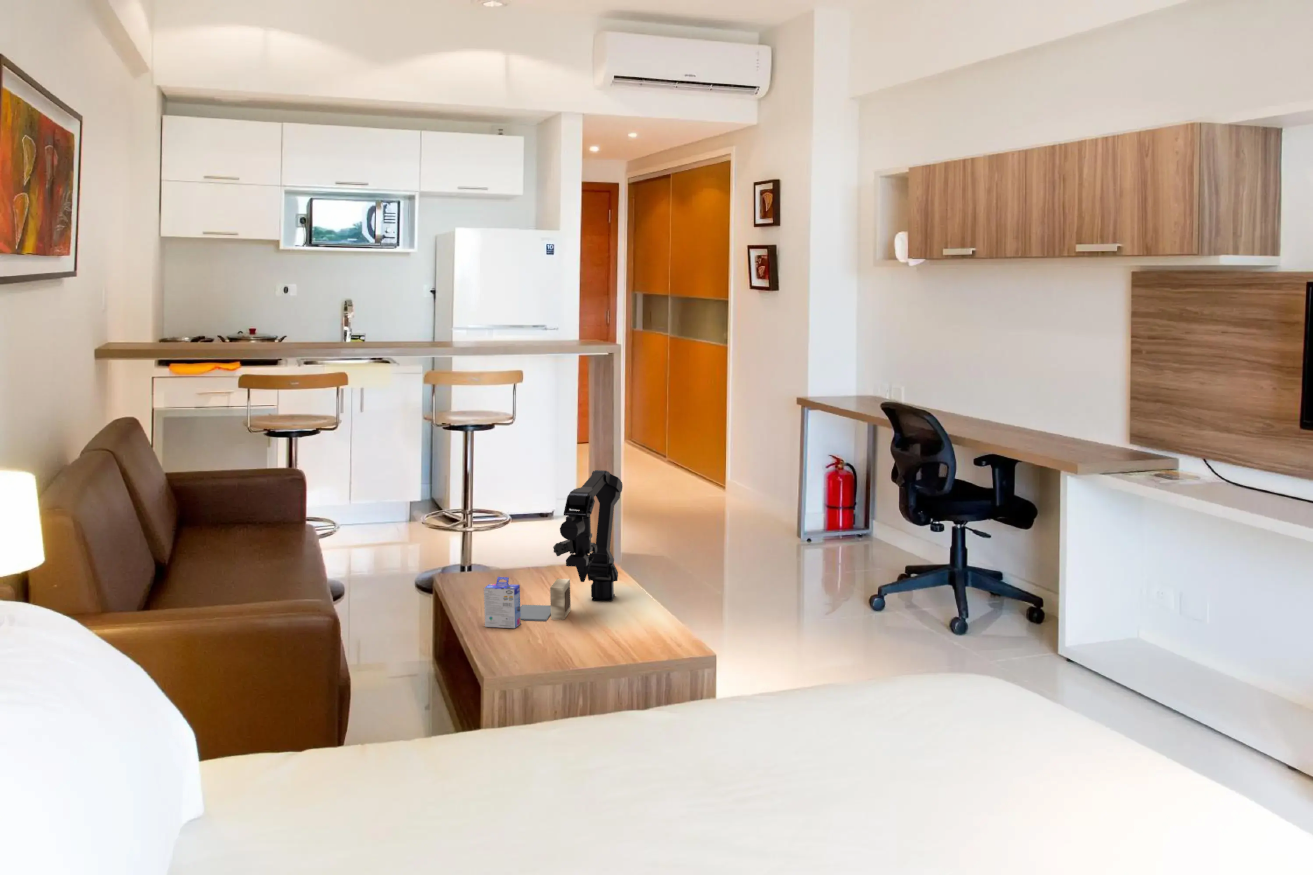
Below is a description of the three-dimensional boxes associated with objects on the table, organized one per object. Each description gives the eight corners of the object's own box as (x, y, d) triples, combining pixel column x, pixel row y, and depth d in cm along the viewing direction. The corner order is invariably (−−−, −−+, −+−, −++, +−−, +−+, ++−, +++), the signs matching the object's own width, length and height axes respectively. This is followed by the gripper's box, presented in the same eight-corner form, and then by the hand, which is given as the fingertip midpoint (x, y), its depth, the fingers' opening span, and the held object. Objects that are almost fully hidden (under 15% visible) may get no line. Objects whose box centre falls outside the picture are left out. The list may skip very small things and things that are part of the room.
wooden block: (571, 610, 364) (570, 578, 362) (564, 619, 354) (564, 587, 352) (558, 609, 364) (557, 578, 363) (551, 619, 354) (550, 587, 353)
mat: (556, 607, 366) (556, 605, 366) (546, 621, 353) (546, 619, 353) (522, 606, 368) (522, 604, 368) (510, 620, 354) (510, 618, 354)
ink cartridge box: (521, 623, 351) (520, 576, 349) (516, 629, 346) (514, 581, 344) (490, 621, 353) (489, 575, 351) (484, 627, 348) (482, 580, 345)
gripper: (561, 524, 364) (563, 572, 367) (548, 538, 346) (549, 589, 349) (597, 524, 363) (598, 573, 365) (585, 539, 345) (586, 590, 347)
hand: (582, 581), depth 357 cm, fingers closed
